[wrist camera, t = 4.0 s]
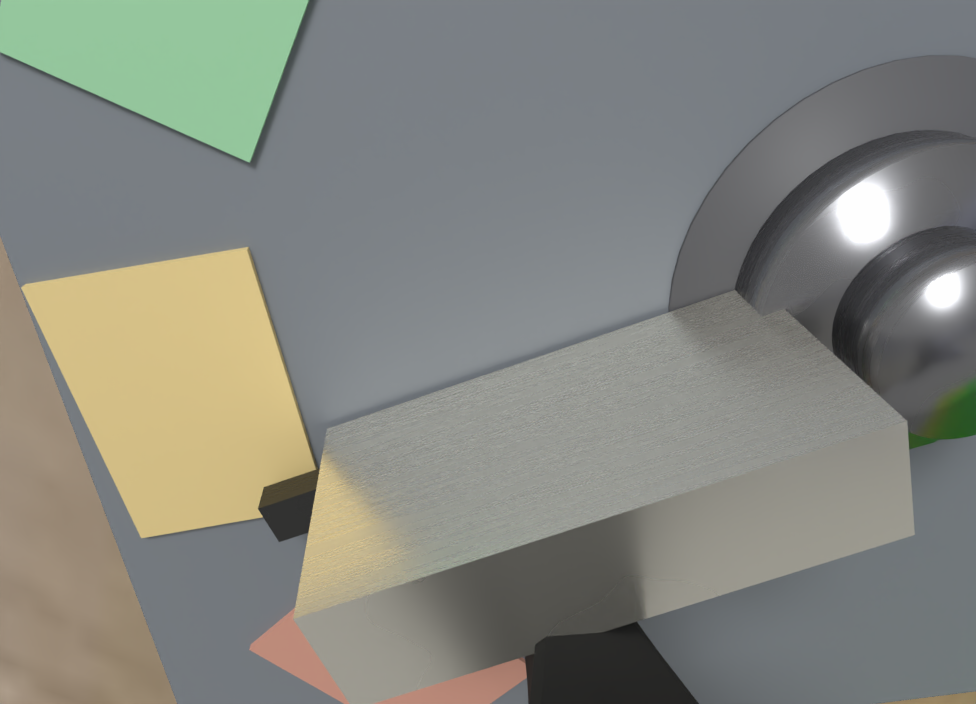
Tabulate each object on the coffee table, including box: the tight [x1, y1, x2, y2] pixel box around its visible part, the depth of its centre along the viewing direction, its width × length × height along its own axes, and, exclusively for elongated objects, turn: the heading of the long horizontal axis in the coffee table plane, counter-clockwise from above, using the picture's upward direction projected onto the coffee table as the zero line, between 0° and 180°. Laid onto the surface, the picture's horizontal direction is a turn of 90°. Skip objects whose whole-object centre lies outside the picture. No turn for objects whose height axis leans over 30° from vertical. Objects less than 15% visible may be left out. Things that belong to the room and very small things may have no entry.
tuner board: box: [0, 0, 976, 704], centre depth 10 cm, size 15×18×1 cm
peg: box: [258, 130, 976, 704], centre depth 8 cm, size 10×4×3 cm, turn 109°
